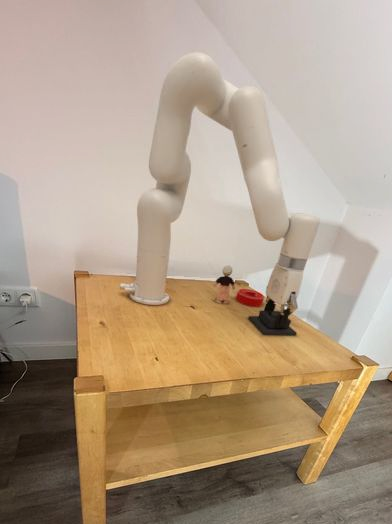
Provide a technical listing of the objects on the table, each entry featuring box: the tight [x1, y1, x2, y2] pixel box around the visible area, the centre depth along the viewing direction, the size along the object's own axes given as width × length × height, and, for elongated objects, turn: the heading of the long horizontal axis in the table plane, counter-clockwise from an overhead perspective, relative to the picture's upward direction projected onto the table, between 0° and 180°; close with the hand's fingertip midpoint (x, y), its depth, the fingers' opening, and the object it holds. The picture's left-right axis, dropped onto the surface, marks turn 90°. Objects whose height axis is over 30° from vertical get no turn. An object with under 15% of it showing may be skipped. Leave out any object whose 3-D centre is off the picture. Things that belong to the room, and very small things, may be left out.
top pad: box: [258, 309, 292, 328], centre depth 91 cm, size 7×7×2 cm
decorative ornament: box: [235, 288, 265, 307], centre depth 109 cm, size 10×10×3 cm
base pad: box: [247, 312, 297, 336], centre depth 91 cm, size 11×11×4 cm
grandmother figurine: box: [212, 265, 236, 305], centre depth 101 cm, size 8×4×13 cm, turn 111°
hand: (273, 320), depth 91 cm, fingers closed on top pad, 7 cm apart
